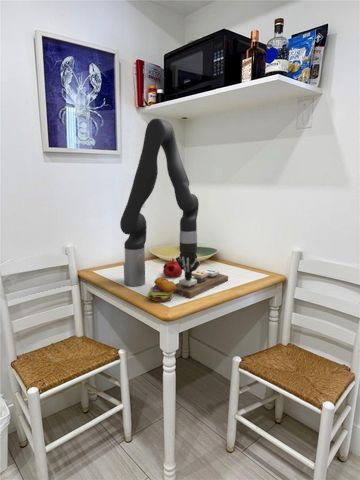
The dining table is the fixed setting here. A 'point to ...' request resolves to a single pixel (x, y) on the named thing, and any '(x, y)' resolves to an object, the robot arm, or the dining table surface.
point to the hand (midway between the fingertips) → (188, 279)
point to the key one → (187, 282)
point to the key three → (212, 273)
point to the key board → (200, 286)
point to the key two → (200, 275)
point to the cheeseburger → (162, 290)
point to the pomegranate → (172, 269)
